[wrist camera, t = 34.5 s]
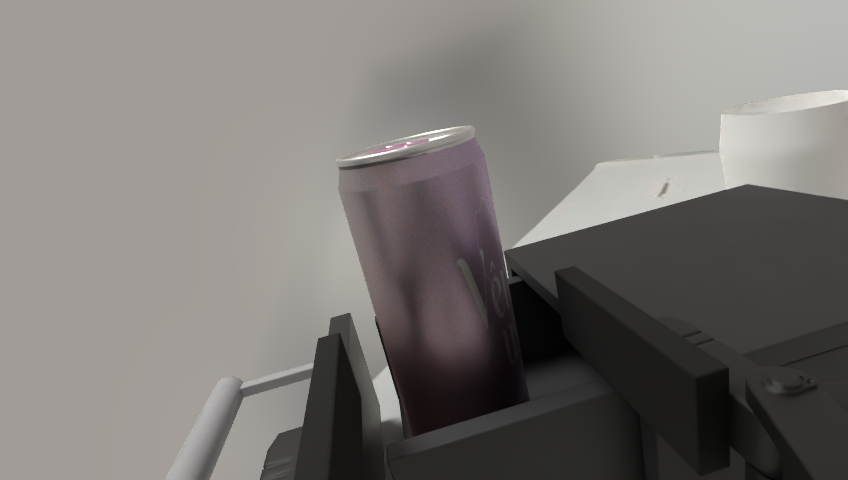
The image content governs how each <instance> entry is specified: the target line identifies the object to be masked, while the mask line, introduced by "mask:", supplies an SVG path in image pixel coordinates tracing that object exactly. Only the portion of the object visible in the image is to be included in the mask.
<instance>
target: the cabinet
mask: <svg viewBox="0 0 848 480" xmlns="http://www.w3.org/2000/svg"><path fill="white" fill-rule="evenodd" d="M504 254H505V260H506V266H507V271H508V277H509V278H511V277H515V276H520V277H521V278H522V279H523V280H524V281H525V282H526V283H527V284H528V285H529V286H530V287H531V288H532V289H533V290H535V291H536V292H537V293H538V294H539V295H540V296H541V297H542V298H543V299H544V300H545V301H546V302H547V303H548V304H549V305H550V306H551V307H552V308H553V309H554V310H555V311H557V312H558V313H559V314H560V307H559V300H558V294H557V287H556V280H555V273H554V271H557V270H560V269H564V268H567V267H571V266H575V267H577V268H578V269H580V270H581V271H583V272H584V273H586V274H588V275H589V276H591V277H592V278H594V279H595V280H597V281H598V282H600V283H601V284H603V285H604V286H606V287H607V288H609V289H610V290H612V291H613V292H615V293H616V294H618V295H620V296H621V297H623V298H624V299H626V300H627V301H629V302H630V303H632V304H633V305H635V306H636V307H638V308H639V309H641V310H642V311H644V312H645V313H647V314H649V315H650V316H652V317H653V318H655V319H656V318H659V317H662V316H665V315H667V316H671V317H674V318H677V319H680V320H684V321H686V322H688V323H690V324H691V325H693V326H695V327H696V328H698V329H700V330H701V331H702V333H703V332H705V333H706V334H708V335H710V336H711V337H713V338H714V340H718V341H720V342H721V343H723V344H725V345H726V346H728V347H730V348H731V349H733V350H735V351H736V352H738V353H740V354H741V355H743V356H745V357H746V358H748V359H750V360H751V361H753V362H755V363H756V364H758V365H760V366H761V367H763V366H783V367H787V368H792V369H796V370H799V371H801V372H804V373H806V374H808V375H811V376H812V377H814V378H815V379H817V380H818V381H819V382H824V381H841V380H848V200H845V199H838V198H832V197H826V196H820V195H813V194H807V193H801V192H795V191H788V190H782V189H776V188H770V187H763V186H757V185H751V184H745V185H742V186H738V187H734V188H731V189H727V190H723V191H720V192H716V193H713V194H709V195H705V196H702V197H698V198H694V199H691V200H687V201H684V202H680V203H676V204H673V205H669V206H665V207H662V208H658V209H655V210H651V211H647V212H644V213H640V214H636V215H633V216H629V217H626V218H622V219H618V220H615V221H611V222H607V223H604V224H600V225H597V226H593V227H589V228H586V229H582V230H578V231H575V232H571V233H568V234H564V235H560V236H557V237H553V238H549V239H546V240H542V241H539V242H535V243H531V244H528V245H524V246H520V247H517V248H513V249H509V250H506V251H504ZM560 315H561V314H560ZM640 422H641V434H642V445H643V456H644V468H645V479H646V480H745V458H743V457H742V456H741V455H740V454H739V453H738V452H736V451H735V450H734V449H733V448H732V447H731V446H730V467H728V468H725V469H722V470H719V471H716V472H713V473H710V474H707V475H704V476H701V477H700V476H699V475H698V474H697V473H696V472H695V471H694V470H693V469H692V468H691V467H690V466H689V465H688V464H687V463H686V462H685V461H684V460H683V459H682V458H681V457H680V456H679V455H678V454H677V453H676V452H675V450H674V449H673V448H672V447H671V446H670V445H669V444H668V443H667V442H666V441H665V440H664V439H663V438H662V437H661V436H660V435H659V434H658V433H657V432H656V431H655V430H654V429H653V428H652V427H651V426H650V425H649V424H648V423H647V422H646V421H645V420H644V419H643V418H642V417H641V415H640Z"/></svg>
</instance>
